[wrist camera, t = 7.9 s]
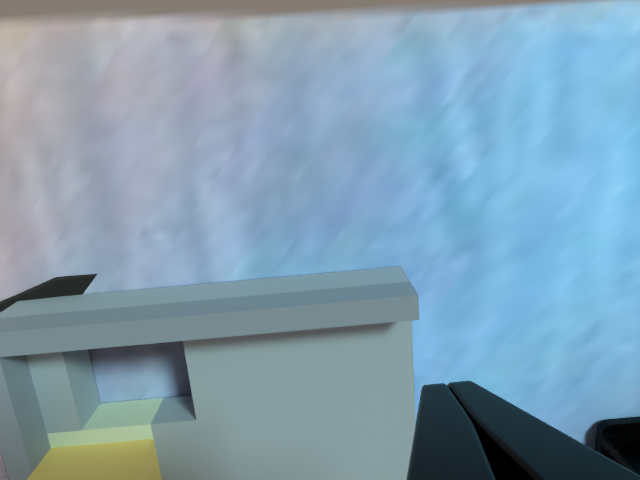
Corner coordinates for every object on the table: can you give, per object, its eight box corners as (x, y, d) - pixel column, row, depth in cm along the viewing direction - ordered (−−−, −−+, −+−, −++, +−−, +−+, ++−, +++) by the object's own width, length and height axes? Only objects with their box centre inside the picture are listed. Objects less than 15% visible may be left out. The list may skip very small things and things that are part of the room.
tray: (400, 266, 21) (418, 295, 18) (413, 566, 26) (430, 635, 22) (19, 300, 21) (-35, 335, 18) (97, 595, 26) (66, 668, 22)
